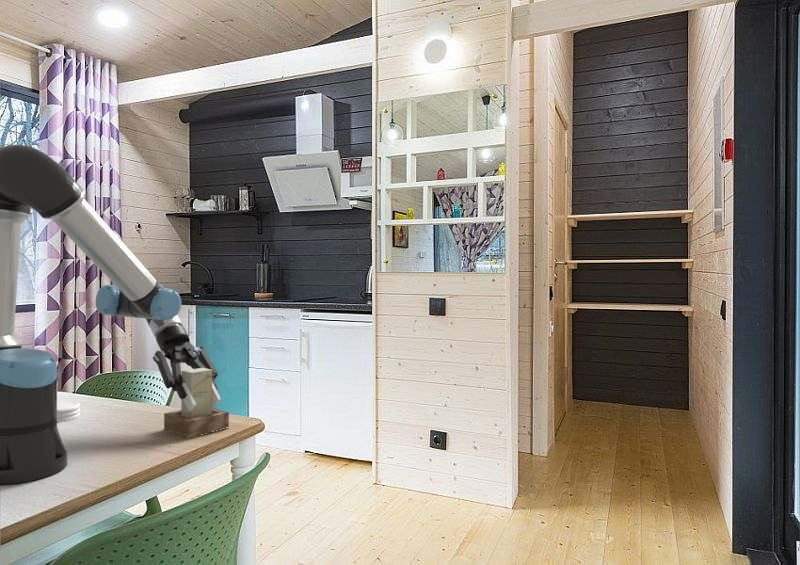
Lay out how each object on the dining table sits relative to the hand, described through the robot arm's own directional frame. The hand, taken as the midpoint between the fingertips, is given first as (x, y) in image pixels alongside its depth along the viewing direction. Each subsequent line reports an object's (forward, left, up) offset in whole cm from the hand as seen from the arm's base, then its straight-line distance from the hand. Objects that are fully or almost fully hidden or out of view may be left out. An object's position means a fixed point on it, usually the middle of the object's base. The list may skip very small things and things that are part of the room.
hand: (205, 405), depth 140 cm
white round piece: (-18, +39, -7) cm, 44 cm away
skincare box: (0, +4, -4) cm, 6 cm away
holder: (0, +3, -6) cm, 7 cm away
